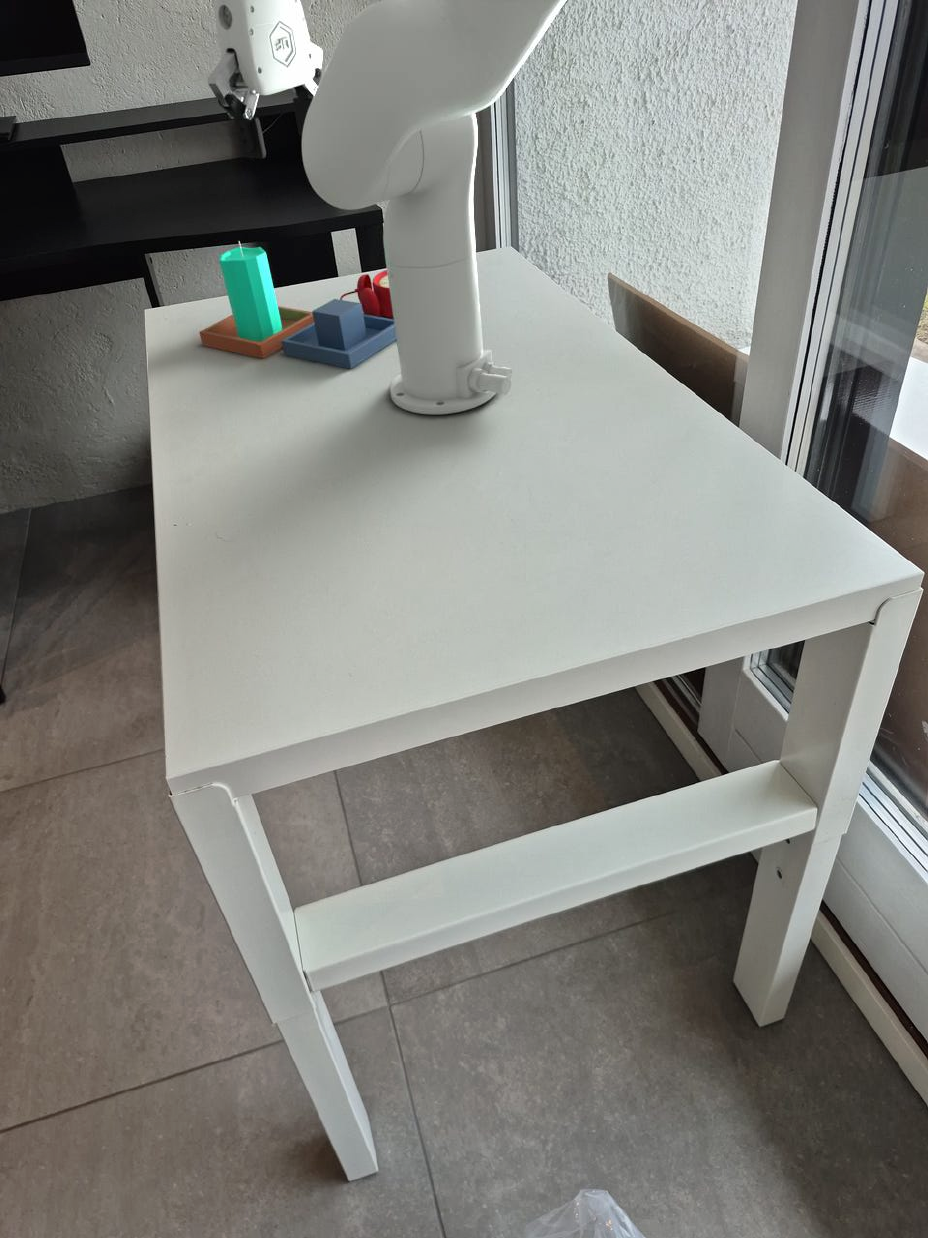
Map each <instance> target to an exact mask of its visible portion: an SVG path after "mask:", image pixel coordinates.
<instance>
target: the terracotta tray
mask: <svg viewBox="0 0 928 1238" xmlns="http://www.w3.org/2000/svg"><path fill="white" fill-rule="evenodd" d="M277 306H278V310H279V315H280V320H281V324H282V330H281V331H279V332H277V333H276V334H274V335H272V336H270V337H268V338H267V339H265V340H263V341H257V342H256V341H251V340H246V339H242V338H239V337H238V333H237V329H236V325H235V321H234V317H233V314H231V315H229V316H227V317H225V318H223V319H221V320H219V321H218V322H215V323H214V324H212V325H209V326H208V327H206V328H204V329H202V330H200V331H199V332H198V333H199V336H200V340H201V343H202V346H203V347H209V348H214V349H218V350H223V351H227V352H232V353H236V354H241V355H246V356H250V357H254V358H258V359H259V358H260V359H265V358H266V357H269V356H271V355H272V354H274V353H275V352H277V351H279V350H281V349H283V347H282V343H281V341H282V340H283V339H285V338H287V337H289V336H290V335H292V334H294V333H296V332H298V331H299V330H301V329H303V328H305V327H306V326H308V325H310V324H312V323H313V322H314V318H313V313H312V311H309V310H303V309H296V308H292V307H286V306H279V305H277Z"/></svg>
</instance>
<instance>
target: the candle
mask: <svg viewBox="0 0 928 1238" xmlns="http://www.w3.org/2000/svg"><path fill="white" fill-rule="evenodd" d="M238 245H239V246H238V247H234V248H232V249H229V250H227V251H225V252H223V253H222V254H220V256H219V260H218V261H219V266H220V269H221V273H222V277H223V281H224V285H225V289H226V293H227V297H228V301H229V305H230V309H231V313H232V315H233V317H234V321H235V325H236V329H237V333H238V337H239V338H242V339H246V340H251V341H256V342H257V341H263V340H265V339H267V338H268V337H270V336H272V335H274V334H276V333H277V332H279V331H281V330H282V324H281V320H280V315H279V310H278V306H279V305H278V302H277V297H276V293H275V292H276V291H275V289H274V284H273V279H272V274H271V270H270V265H269V261H268V257H267V251H265V250H264V248H262V247H261V246H258V247H257V246H256V247H244V246H243V247H242V246H241V242H240V240H238Z"/></svg>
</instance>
